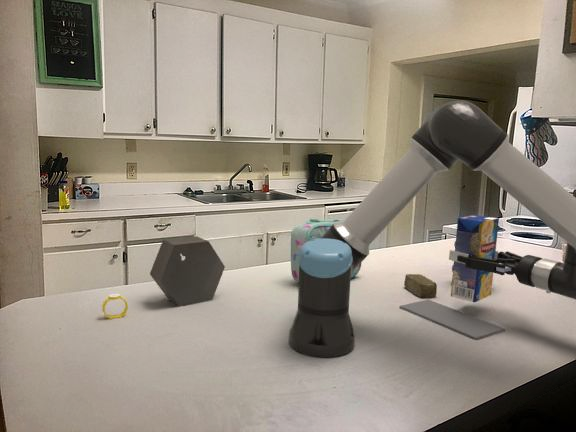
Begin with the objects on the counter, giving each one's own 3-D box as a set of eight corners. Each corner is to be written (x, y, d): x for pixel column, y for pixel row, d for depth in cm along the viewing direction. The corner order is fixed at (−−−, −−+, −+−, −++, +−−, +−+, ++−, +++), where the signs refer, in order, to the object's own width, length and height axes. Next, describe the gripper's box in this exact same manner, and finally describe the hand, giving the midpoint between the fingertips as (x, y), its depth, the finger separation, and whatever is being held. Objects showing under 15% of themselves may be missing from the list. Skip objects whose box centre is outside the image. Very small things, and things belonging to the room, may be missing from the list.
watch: (104, 322, 120) (102, 299, 119) (102, 318, 123) (100, 296, 121) (129, 316, 123) (127, 294, 122) (127, 313, 125) (125, 291, 124)
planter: (220, 274, 147) (186, 221, 138) (233, 280, 141) (199, 225, 132) (177, 311, 140) (138, 259, 131) (189, 320, 134) (149, 265, 125)
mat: (475, 340, 116) (475, 337, 116) (399, 307, 137) (399, 305, 137) (505, 330, 123) (505, 328, 122) (428, 301, 143) (428, 299, 143)
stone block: (420, 299, 145) (421, 283, 144) (402, 288, 156) (403, 273, 155) (437, 298, 147) (438, 282, 146) (418, 287, 158) (419, 272, 157)
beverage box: (491, 294, 137) (499, 218, 134) (474, 302, 129) (482, 221, 126) (467, 289, 141) (475, 215, 138) (450, 296, 134) (457, 218, 130)
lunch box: (307, 292, 148) (310, 223, 144) (285, 284, 155) (287, 218, 152) (363, 278, 165) (367, 216, 162) (341, 271, 173) (344, 212, 169)
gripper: (508, 294, 113) (434, 270, 131) (562, 281, 125) (487, 261, 143) (512, 262, 111) (437, 243, 130) (566, 253, 124) (490, 236, 142)
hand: (463, 252), depth 137 cm, fingers closed on beverage box, 11 cm apart
